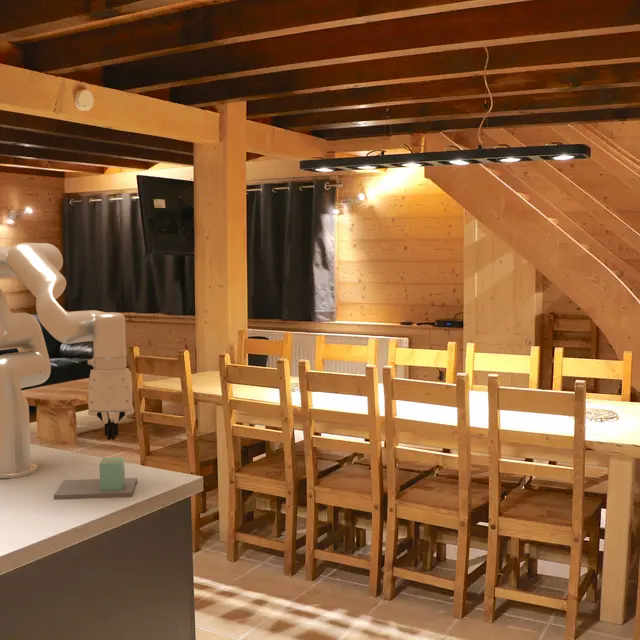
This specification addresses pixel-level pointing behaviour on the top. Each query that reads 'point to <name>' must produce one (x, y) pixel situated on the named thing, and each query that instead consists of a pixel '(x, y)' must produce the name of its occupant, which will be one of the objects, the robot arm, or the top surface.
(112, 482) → the sage green cube
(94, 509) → the top surface
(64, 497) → the stand board
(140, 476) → the top surface
